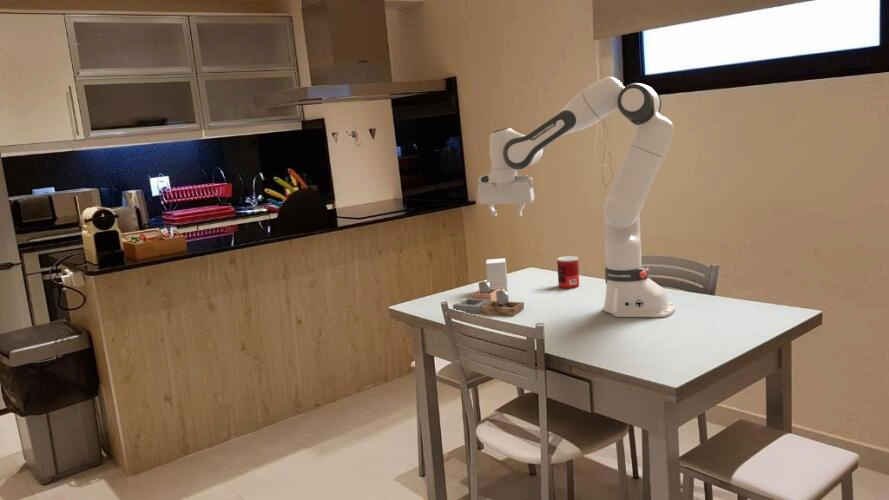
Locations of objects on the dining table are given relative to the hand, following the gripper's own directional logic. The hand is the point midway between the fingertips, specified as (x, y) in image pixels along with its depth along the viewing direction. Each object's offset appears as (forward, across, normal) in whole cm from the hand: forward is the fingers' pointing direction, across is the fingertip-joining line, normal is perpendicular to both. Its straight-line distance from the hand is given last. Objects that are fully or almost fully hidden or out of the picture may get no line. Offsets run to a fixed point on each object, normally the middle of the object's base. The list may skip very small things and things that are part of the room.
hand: (507, 216), depth 238 cm
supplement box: (+31, +11, -11) cm, 35 cm away
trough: (+31, -2, +13) cm, 34 cm away
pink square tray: (+31, +9, +3) cm, 33 cm away
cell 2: (+31, -2, +13) cm, 33 cm away
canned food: (+31, -12, -25) cm, 42 cm away
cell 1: (+30, +9, +3) cm, 32 cm away
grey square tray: (+31, +10, +12) cm, 35 cm away
